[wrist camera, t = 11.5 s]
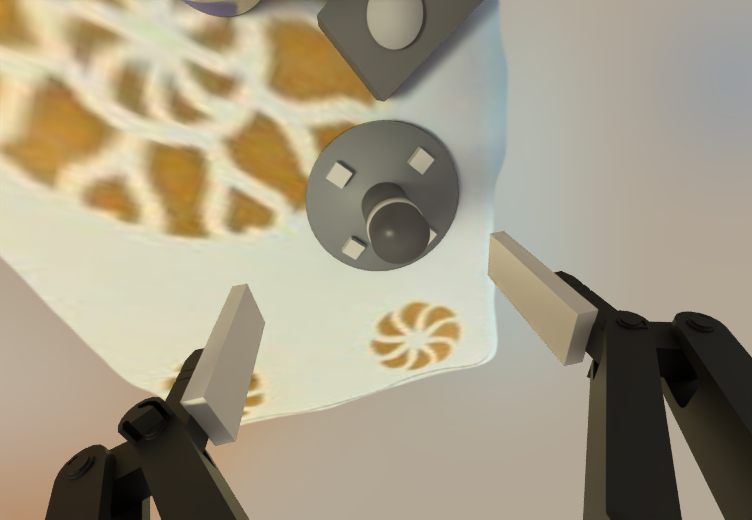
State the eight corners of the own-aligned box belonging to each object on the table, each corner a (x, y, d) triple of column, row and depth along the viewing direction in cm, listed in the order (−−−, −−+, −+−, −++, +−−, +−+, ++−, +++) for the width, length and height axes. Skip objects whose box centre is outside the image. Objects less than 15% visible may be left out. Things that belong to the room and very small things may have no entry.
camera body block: (419, -93, 25) (442, -138, 20) (470, 3, 28) (500, -16, 23) (318, 26, 28) (316, 12, 23) (376, 99, 31) (385, 101, 26)
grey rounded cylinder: (356, 185, 34) (365, 214, 26) (406, 177, 34) (429, 203, 26) (364, 231, 37) (374, 269, 29) (410, 223, 37) (432, 258, 29)
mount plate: (287, 135, 31) (284, 138, 30) (454, 107, 32) (462, 109, 31) (325, 277, 41) (325, 287, 39) (454, 253, 42) (461, 260, 40)
